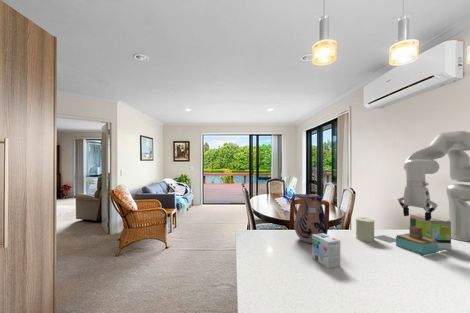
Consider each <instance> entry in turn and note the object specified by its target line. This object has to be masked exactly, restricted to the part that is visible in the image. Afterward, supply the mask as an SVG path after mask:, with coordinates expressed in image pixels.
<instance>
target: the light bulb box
mask: <svg viewBox="0 0 470 313" xmlns="http://www.w3.org/2000/svg"><path fill="white" fill-rule="evenodd" d="M311 259H313V260H315V261H316V262H318V263H319V264H321V265H323V267H326V268H327V269H330V268H337V267H341V240H340V239H337V238H335V236H330V235H329V234H328V233H327V234H324V233H320V234H312V243H311Z"/></svg>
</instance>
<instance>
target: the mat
mask: <svg viewBox="0 0 470 313" xmlns="http://www.w3.org/2000/svg"><path fill="white" fill-rule="evenodd" d="M374 239H377V240H380V241H383V242H386V243H389V244H392V243H396V237H395V238H394V237H392V236H388V235H384V234H382V235H374Z"/></svg>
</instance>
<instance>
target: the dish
mask: <svg viewBox="0 0 470 313" xmlns="http://www.w3.org/2000/svg"><path fill="white" fill-rule="evenodd" d="M395 239H396V242H395V247H399V248H402V249H404V250H407V251H410V252H413V253H416V254H418V255H419V254H420V256H422V257H425V256H429V255H432V254H436V253H438V252H439V249H438V242H434V243H429V244H424V245H421V244H417V243H414V242H411V241H407V240H404V239H401V238H398V237H397V236H395Z"/></svg>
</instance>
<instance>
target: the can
mask: <svg viewBox="0 0 470 313" xmlns="http://www.w3.org/2000/svg"><path fill="white" fill-rule="evenodd" d="M374 237H375V220H374V219H372V218H368V217H356V218H355V239H356V240H358V241H360V242H367V243H372V242H375V238H374Z"/></svg>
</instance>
